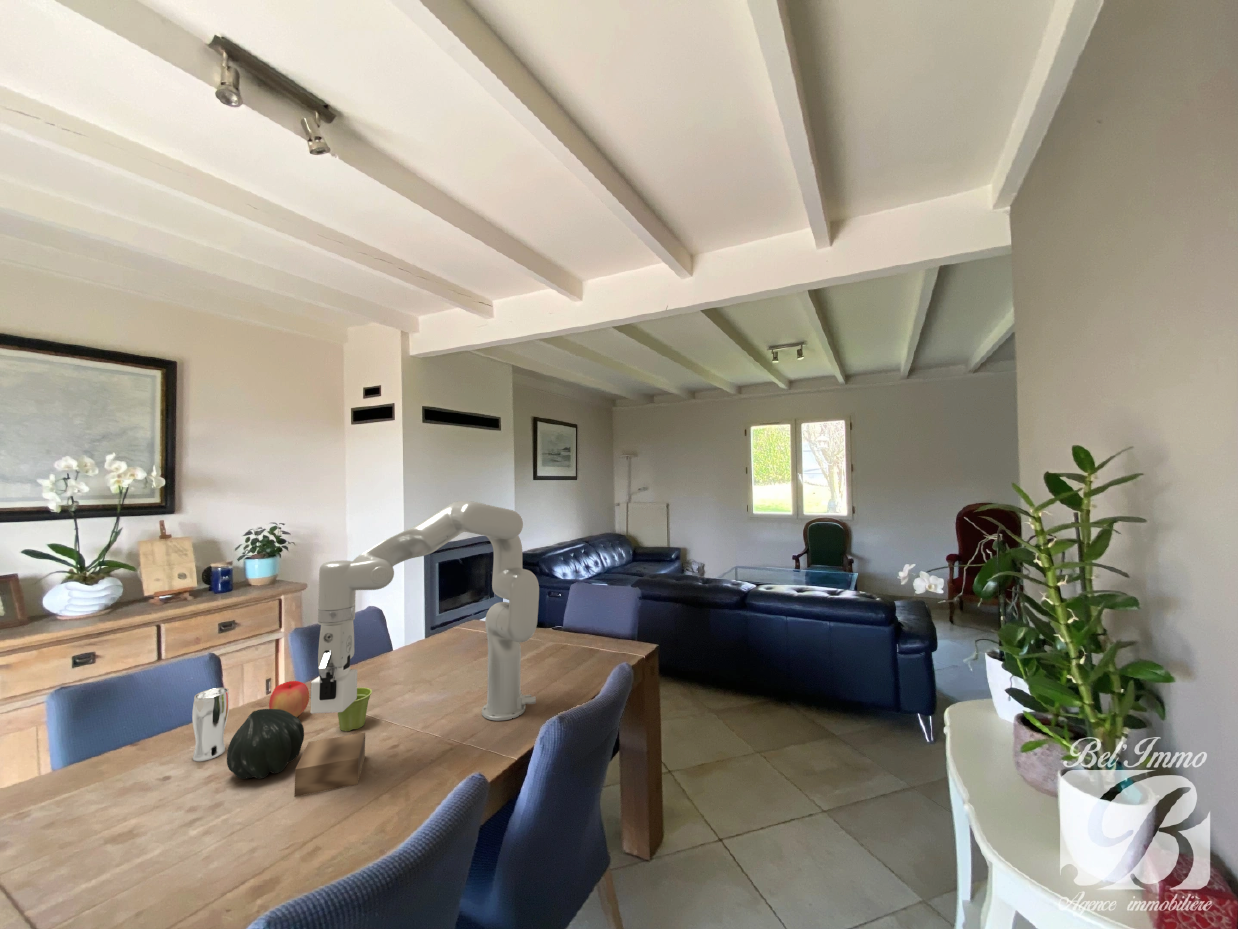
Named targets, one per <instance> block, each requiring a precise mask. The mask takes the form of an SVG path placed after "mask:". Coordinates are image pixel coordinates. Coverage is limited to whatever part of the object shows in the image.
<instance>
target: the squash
mask: <svg viewBox="0 0 1238 929" xmlns="http://www.w3.org/2000/svg"><path fill="white" fill-rule="evenodd" d="M236 730H237V731H236V732H235V733H234V735H233V736H232V737H231V739H230V742H229V744H228V747H227V752H226V766H227V768H228V770H229V771H230V772H231V773H233V775H235V776H236V777H237V778H238V779H241V780H242V779H251V778H255V779H260V780H261V779H264V778H266V777H267V776H268V775H269V774H270V773H272V774H279V773H281V772H283V770H285V768H286V767H287V765H288V763H291V762H293V761H294V760H295V759H297V757H298V756H299V755H300V752H301V749H302V746H303V744H304V743H303V742H304V741H305V740H304V739H305V727H304V724H302V722H301V719H299V718H298V717H295V716H293V715H292V714H291V713H289V712H287V711H284V710H281V709H269V708H261V709H257V710H253V711H252V712H251V713H250V714H249V715H248V716H247V718H246V719H245V721H244V722H243V724H242V725H241V726H240V727H239V728H238V729H236Z"/></svg>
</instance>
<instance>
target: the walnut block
mask: <svg viewBox="0 0 1238 929" xmlns="http://www.w3.org/2000/svg"><path fill="white" fill-rule="evenodd" d="M365 757H366V732H360V733H355V734H349V735H342V736H335V737H331V738H325V739H324V738H323V739H319V740H318V739H317V740H313V741H312V740H311V741H308V742H307V745H306V747H305V749H304V751H303V753H302V755H301V757H300V759H299V761H298V763H297V765H296V767H295V769H294V792H293V793H294V794H293V795H294V796H293V797H294V798H297V797H300V796H306V795H310V794H311V795H312V794H315V793H322V792H326V791H331V790H336V789H341V788H345V787H351V786H357V785H358V784H359V781H360V777H361V773H362V770H363V764H364V761H365Z"/></svg>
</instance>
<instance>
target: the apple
mask: <svg viewBox="0 0 1238 929" xmlns="http://www.w3.org/2000/svg"><path fill="white" fill-rule="evenodd" d="M309 702H310V690H309V688H308V686H307V684H305V683H304V682H302V681H299V680H291V681H285V682H283V683H281V684H280V683H279V685H276V687H274V689H273V691H272V693H271V695H270V696H269V702H268V709H281V710H284V711H287V712H289V713H291V714H292V715H293V716H295V717H297V718H298V717H299V716H301V715H302V714H303V712H305V710H306V709H307V707H308V705H309Z"/></svg>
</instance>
